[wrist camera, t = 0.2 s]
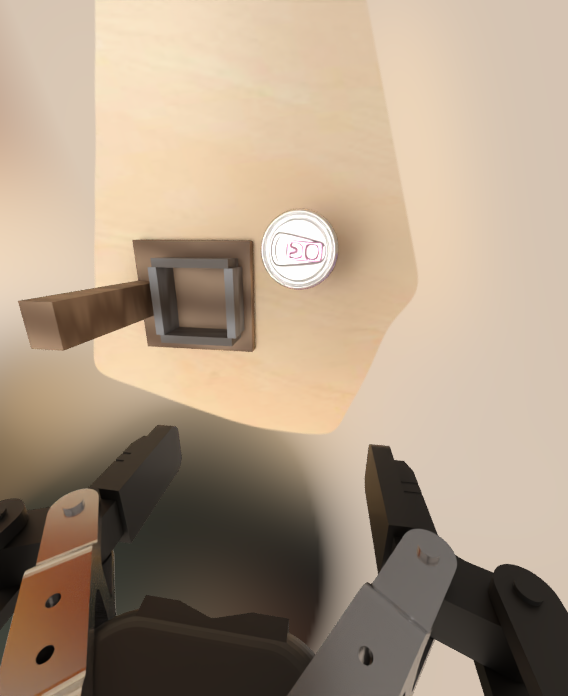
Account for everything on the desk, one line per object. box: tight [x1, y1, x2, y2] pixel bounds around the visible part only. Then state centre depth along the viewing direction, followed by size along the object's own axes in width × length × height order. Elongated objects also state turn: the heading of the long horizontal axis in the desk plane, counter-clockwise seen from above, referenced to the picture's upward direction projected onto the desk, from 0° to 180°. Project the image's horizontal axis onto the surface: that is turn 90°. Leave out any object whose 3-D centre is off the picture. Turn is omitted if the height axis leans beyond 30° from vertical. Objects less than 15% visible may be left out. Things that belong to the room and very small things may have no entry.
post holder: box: [18, 240, 255, 352], centre depth 31 cm, size 14×15×18 cm
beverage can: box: [261, 209, 338, 290], centre depth 29 cm, size 6×6×15 cm
